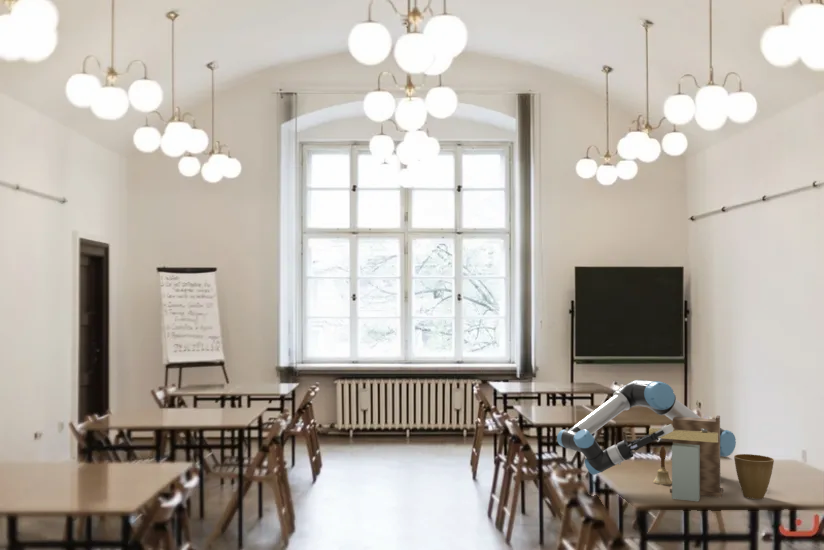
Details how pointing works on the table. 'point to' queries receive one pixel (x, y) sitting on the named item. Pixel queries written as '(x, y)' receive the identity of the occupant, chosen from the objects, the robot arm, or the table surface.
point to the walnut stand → (704, 452)
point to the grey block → (686, 472)
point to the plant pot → (753, 474)
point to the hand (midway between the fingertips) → (671, 427)
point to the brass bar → (689, 435)
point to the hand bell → (662, 470)
